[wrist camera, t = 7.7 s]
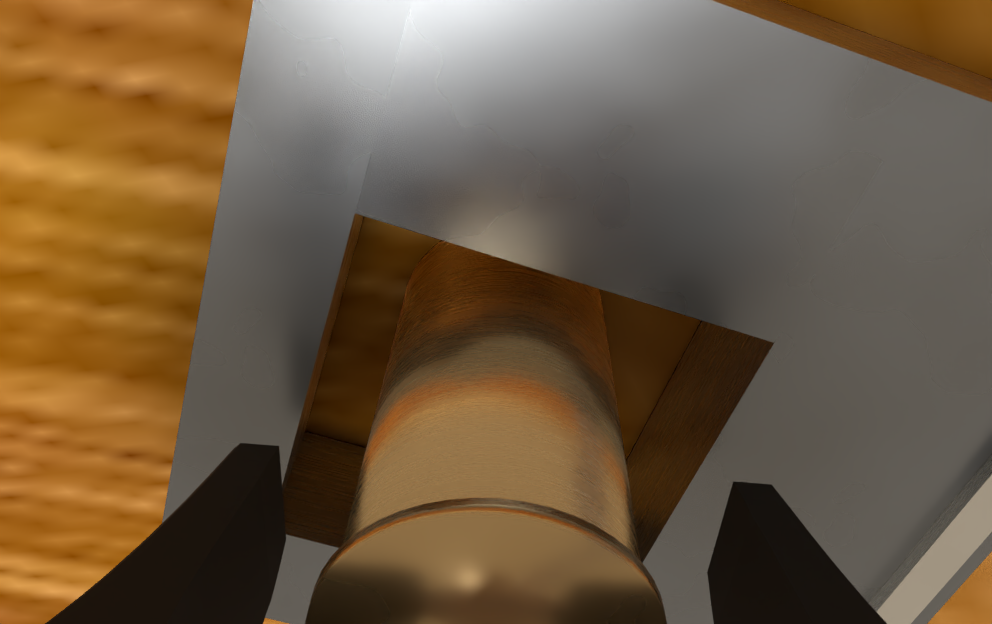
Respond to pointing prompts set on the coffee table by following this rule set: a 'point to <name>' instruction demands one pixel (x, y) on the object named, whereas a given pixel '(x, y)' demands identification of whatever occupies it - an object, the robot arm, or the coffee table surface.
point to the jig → (633, 257)
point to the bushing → (492, 462)
